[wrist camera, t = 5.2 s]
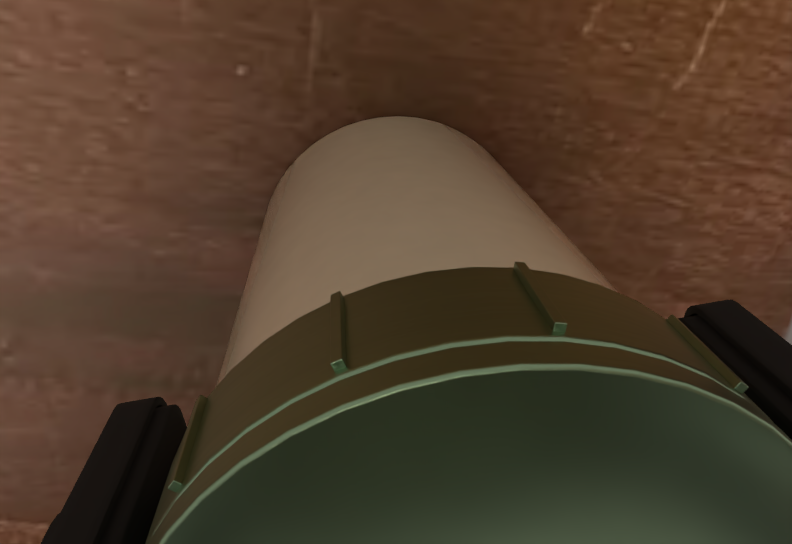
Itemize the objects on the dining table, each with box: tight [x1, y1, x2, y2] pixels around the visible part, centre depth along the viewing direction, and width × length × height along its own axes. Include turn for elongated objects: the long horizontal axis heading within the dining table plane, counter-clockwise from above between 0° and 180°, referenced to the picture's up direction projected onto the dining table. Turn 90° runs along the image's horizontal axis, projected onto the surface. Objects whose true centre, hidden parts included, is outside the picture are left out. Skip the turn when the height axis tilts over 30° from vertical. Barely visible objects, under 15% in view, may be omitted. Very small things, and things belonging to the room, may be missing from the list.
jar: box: [216, 116, 619, 387], centre depth 11 cm, size 6×6×11 cm
